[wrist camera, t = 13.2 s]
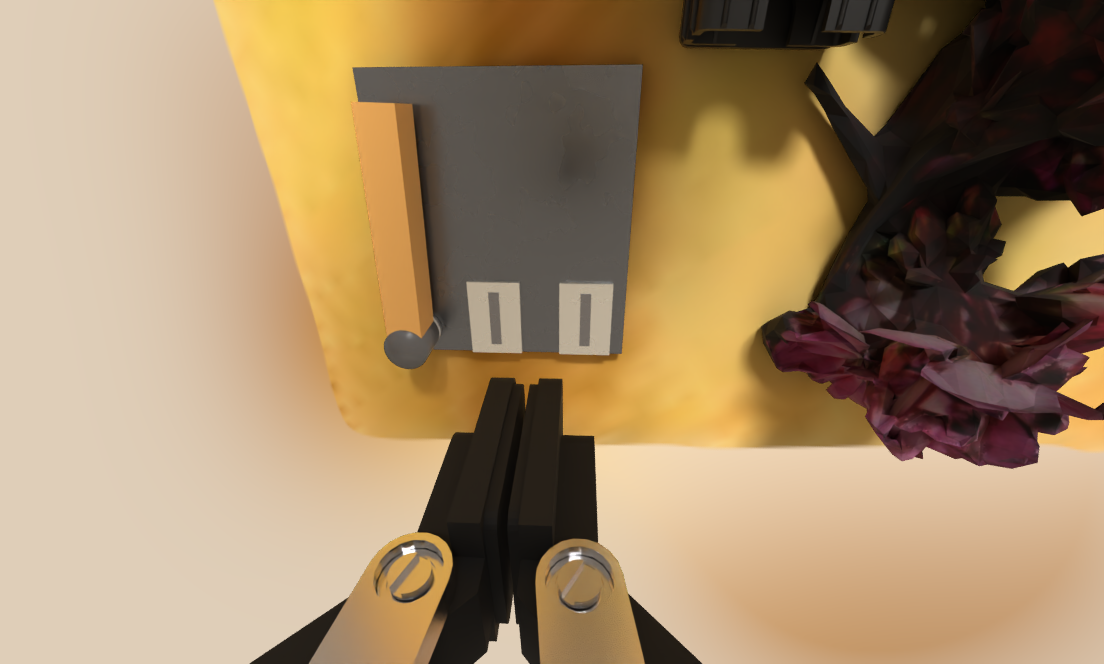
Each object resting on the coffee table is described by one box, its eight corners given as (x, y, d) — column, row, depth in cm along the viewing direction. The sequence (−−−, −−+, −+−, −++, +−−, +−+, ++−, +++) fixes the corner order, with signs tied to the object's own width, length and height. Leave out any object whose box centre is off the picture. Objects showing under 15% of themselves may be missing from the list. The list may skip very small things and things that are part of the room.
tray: (361, 69, 29) (348, 66, 28) (640, 66, 28) (643, 63, 27) (406, 341, 38) (399, 351, 36) (620, 346, 37) (622, 356, 35)
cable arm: (440, 350, 36) (429, 370, 33) (401, 348, 36) (387, 367, 33) (417, 104, 28) (400, 103, 25) (367, 102, 28) (345, 101, 25)
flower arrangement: (841, -100, 24) (1203, -364, 10) (1225, -106, 23) (2116, -389, 10) (736, 390, 38) (831, 546, 24) (974, 391, 37) (1204, 550, 24)
